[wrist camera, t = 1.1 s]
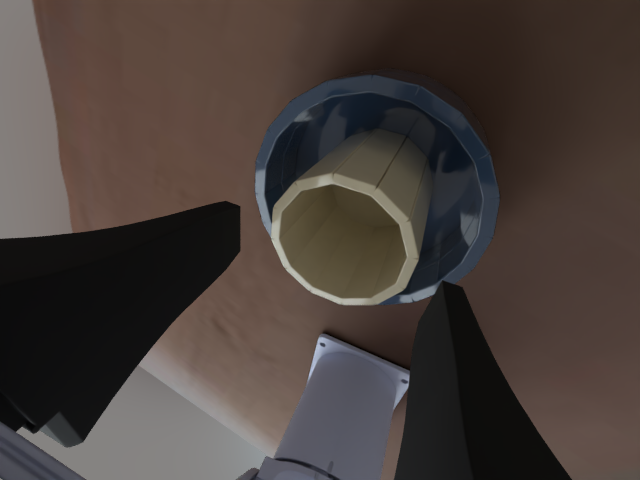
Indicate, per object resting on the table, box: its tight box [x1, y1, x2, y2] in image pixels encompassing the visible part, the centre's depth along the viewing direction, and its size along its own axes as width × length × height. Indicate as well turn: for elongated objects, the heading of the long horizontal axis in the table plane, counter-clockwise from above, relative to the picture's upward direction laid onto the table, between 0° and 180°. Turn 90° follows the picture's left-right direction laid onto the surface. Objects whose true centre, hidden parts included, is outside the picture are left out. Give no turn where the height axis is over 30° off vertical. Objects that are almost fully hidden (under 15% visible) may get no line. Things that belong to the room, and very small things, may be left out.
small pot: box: [271, 129, 433, 305], centre depth 14 cm, size 6×6×7 cm
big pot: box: [255, 68, 500, 305], centre depth 15 cm, size 11×11×4 cm
